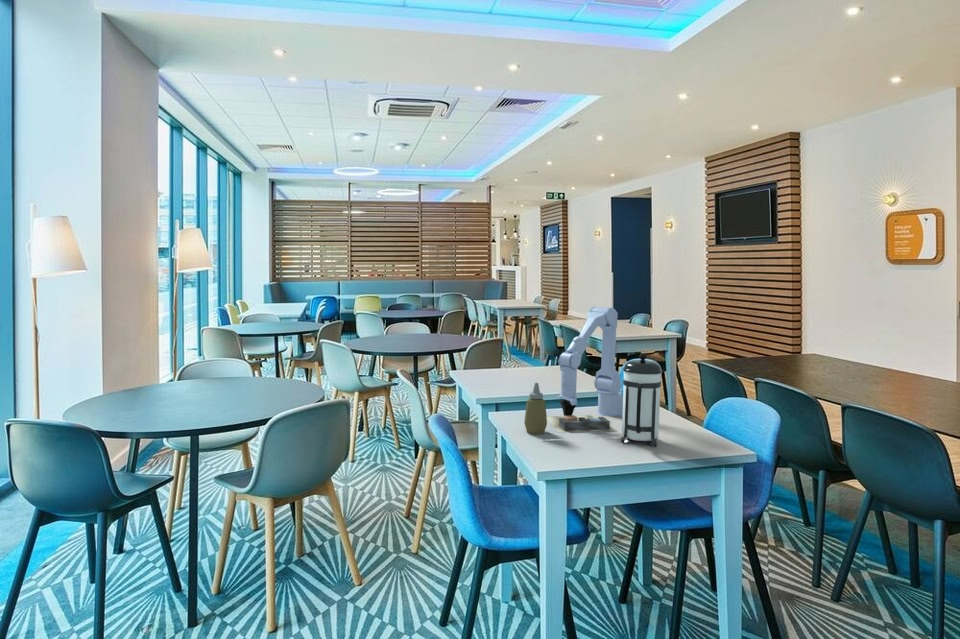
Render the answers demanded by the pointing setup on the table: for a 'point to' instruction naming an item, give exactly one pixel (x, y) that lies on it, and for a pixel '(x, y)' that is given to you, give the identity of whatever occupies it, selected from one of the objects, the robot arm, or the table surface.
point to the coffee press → (641, 400)
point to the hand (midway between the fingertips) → (567, 419)
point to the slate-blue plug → (593, 419)
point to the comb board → (580, 424)
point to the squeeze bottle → (535, 412)
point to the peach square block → (571, 418)
